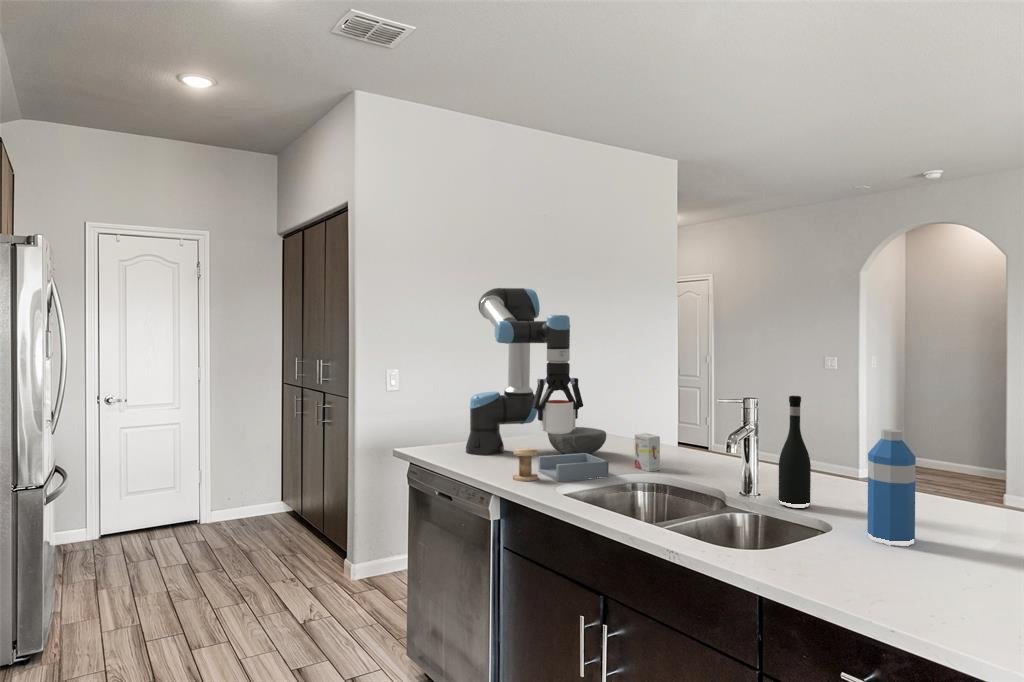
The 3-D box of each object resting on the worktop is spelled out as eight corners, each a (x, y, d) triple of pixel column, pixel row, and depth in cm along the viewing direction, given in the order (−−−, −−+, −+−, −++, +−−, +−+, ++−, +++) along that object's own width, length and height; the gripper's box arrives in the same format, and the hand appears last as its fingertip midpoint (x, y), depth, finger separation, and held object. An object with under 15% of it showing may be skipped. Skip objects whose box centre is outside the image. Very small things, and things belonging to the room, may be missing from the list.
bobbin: (509, 476, 215) (509, 449, 215) (531, 475, 218) (532, 447, 218) (518, 482, 207) (518, 453, 207) (541, 480, 210) (541, 452, 210)
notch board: (538, 471, 223) (538, 456, 223) (585, 467, 229) (585, 453, 229) (558, 481, 208) (558, 465, 208) (608, 477, 214) (608, 461, 214)
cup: (573, 429, 220) (573, 400, 220) (572, 434, 211) (573, 403, 210) (543, 429, 222) (543, 399, 221) (541, 434, 212) (541, 403, 211)
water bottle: (914, 549, 143) (915, 435, 143) (865, 542, 148) (866, 431, 148) (915, 538, 151) (915, 429, 151) (868, 531, 156) (869, 426, 156)
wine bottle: (786, 500, 185) (786, 394, 184) (815, 505, 179) (815, 396, 179) (773, 505, 179) (774, 395, 179) (803, 511, 174) (803, 398, 173)
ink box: (633, 467, 230) (633, 433, 230) (645, 466, 233) (645, 432, 232) (648, 472, 223) (648, 437, 222) (660, 470, 225) (660, 436, 225)
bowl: (610, 461, 242) (610, 433, 242) (548, 460, 242) (548, 433, 242) (602, 449, 265) (602, 425, 265) (546, 449, 265) (546, 424, 265)
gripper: (530, 363, 208) (530, 433, 209) (594, 362, 216) (593, 429, 216) (521, 362, 215) (521, 429, 216) (584, 360, 223) (583, 426, 224)
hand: (557, 429), depth 216 cm, fingers closed on cup, 10 cm apart
